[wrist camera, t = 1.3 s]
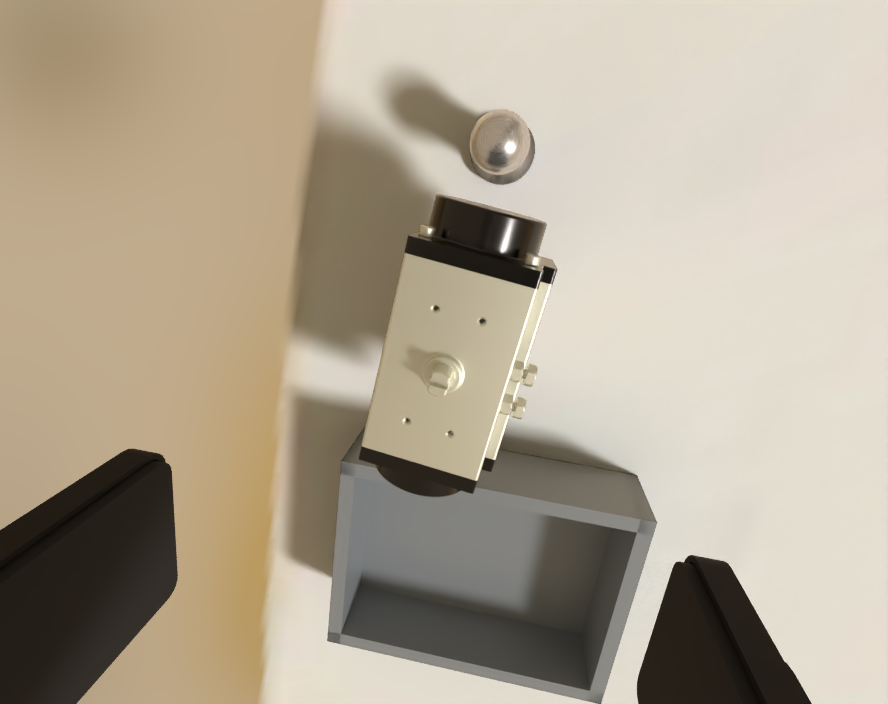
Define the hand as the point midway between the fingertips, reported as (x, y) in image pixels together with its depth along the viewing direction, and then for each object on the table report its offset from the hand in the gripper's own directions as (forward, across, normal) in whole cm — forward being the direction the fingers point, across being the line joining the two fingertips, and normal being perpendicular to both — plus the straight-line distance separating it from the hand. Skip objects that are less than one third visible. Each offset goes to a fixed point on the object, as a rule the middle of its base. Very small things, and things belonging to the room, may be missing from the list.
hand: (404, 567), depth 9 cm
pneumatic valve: (+20, 0, 0) cm, 21 cm away
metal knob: (+20, 0, -9) cm, 22 cm away
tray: (+20, -2, +14) cm, 25 cm away
